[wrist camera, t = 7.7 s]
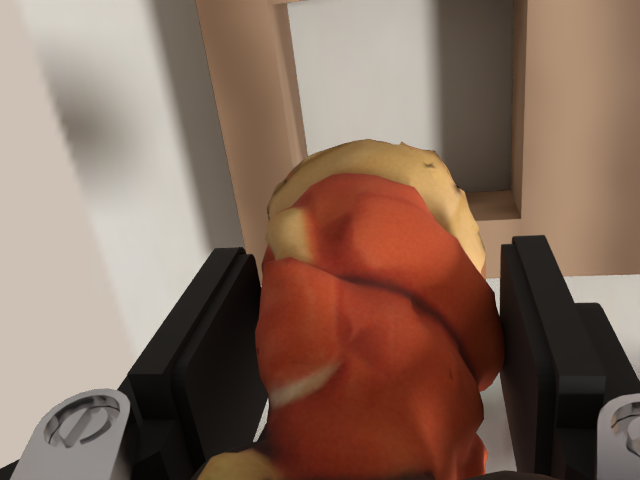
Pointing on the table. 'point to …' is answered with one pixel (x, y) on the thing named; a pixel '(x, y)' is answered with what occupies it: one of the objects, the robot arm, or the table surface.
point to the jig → (526, 139)
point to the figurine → (372, 325)
